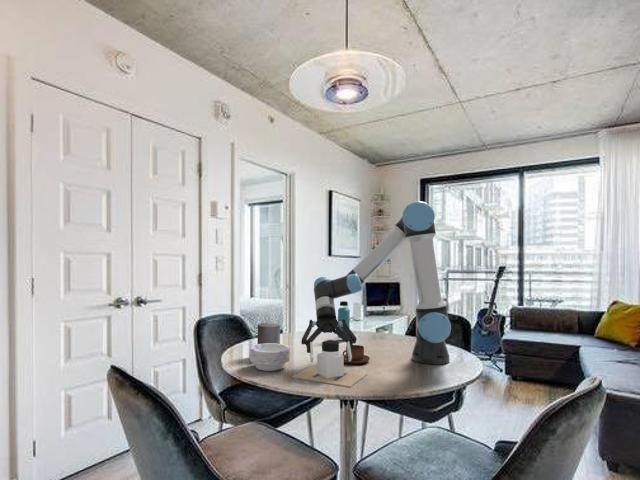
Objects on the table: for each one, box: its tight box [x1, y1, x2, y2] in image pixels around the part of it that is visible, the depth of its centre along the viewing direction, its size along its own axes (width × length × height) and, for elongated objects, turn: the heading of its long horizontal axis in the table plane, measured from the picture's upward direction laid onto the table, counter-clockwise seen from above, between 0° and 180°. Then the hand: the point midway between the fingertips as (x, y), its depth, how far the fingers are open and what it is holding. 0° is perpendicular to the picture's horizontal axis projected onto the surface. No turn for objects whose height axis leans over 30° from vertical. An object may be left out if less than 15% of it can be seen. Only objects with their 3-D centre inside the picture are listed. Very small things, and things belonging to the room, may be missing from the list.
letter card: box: [291, 365, 368, 388], centre depth 140 cm, size 22×16×1 cm
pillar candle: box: [256, 322, 281, 345], centre depth 168 cm, size 10×10×15 cm
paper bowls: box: [249, 343, 291, 372], centre depth 151 cm, size 15×15×8 cm
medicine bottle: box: [316, 339, 345, 379], centre depth 141 cm, size 7×7×12 cm
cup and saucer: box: [341, 344, 371, 365], centre depth 161 cm, size 12×12×6 cm
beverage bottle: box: [337, 300, 351, 339], centre depth 205 cm, size 6×7×20 cm
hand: (331, 360), depth 138 cm, fingers open, 13 cm apart
